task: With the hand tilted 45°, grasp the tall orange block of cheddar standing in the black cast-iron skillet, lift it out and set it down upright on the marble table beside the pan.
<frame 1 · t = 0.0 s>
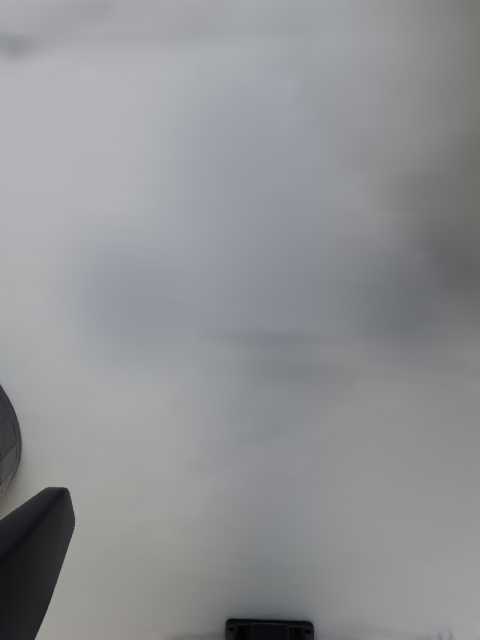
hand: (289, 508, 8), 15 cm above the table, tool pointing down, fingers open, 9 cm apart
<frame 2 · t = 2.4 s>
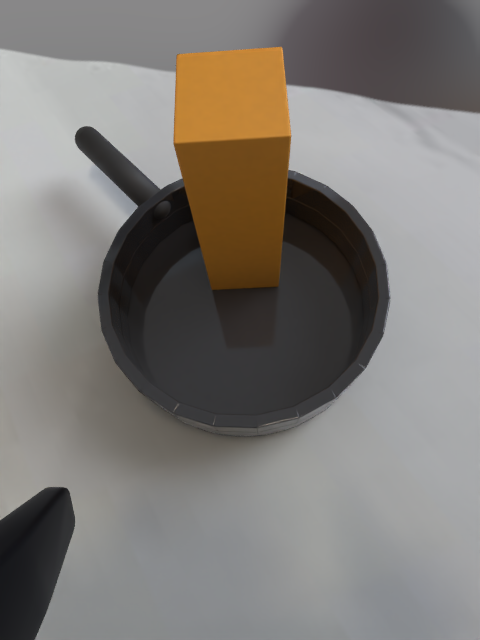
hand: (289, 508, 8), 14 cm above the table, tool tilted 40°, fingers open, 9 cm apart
pan: (244, 308, 25), on the table
cheese: (243, 256, 25), resting on pan
pan handle: (135, 202, 28), resting on pan
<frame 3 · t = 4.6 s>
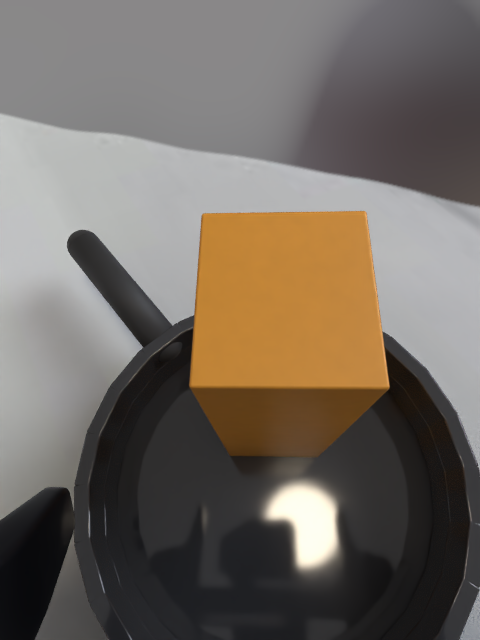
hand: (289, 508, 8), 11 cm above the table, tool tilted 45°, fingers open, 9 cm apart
pan: (271, 482, 19), on the table
cheese: (272, 407, 20), resting on pan
pan handle: (138, 318, 22), resting on pan
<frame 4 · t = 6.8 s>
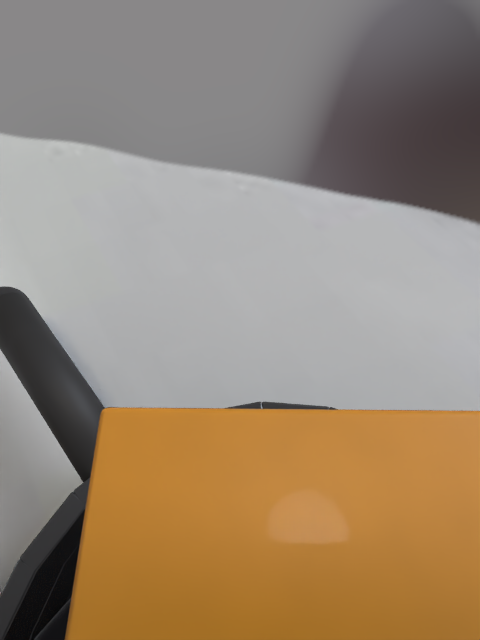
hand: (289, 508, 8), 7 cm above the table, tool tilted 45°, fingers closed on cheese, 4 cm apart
cheese: (278, 555, 13), point 1 cm above the table, touching gripper, pan
pan handle: (90, 404, 16), resting on pan
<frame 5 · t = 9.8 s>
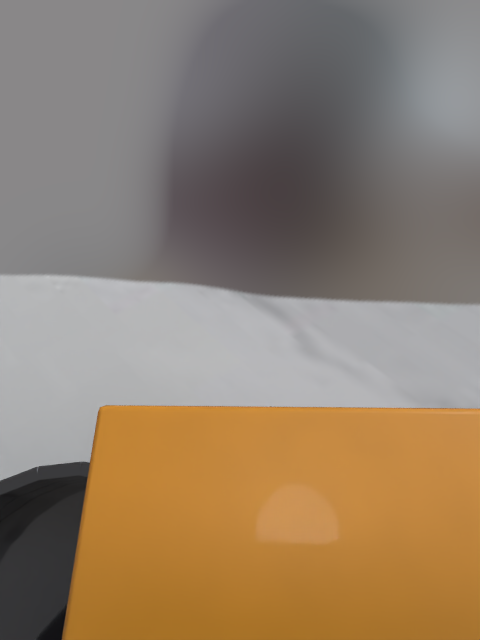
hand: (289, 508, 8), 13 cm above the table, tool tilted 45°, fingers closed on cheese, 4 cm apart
cheese: (277, 554, 13), point 7 cm above the table, touching gripper
when the fingers open (6 cm above the table, at t = 12.9 s): cheese stays where it is, on the table.
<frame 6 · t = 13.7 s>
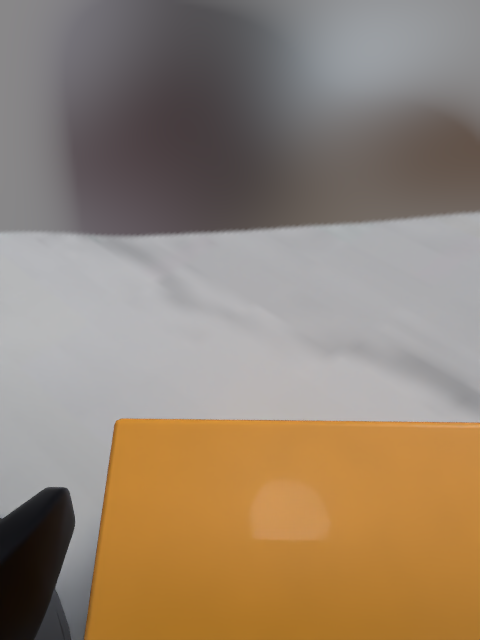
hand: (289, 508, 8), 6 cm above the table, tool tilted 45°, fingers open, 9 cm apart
cheese: (278, 555, 14), on the table
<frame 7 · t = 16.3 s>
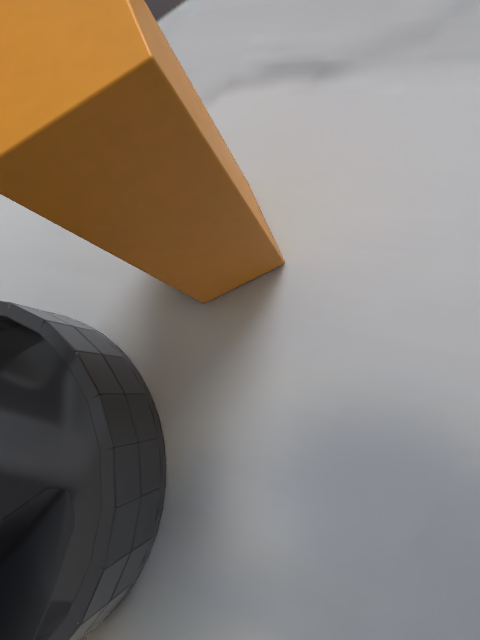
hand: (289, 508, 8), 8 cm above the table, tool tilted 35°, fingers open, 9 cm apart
pan: (24, 469, 20), on the table
cheese: (225, 241, 19), on the table
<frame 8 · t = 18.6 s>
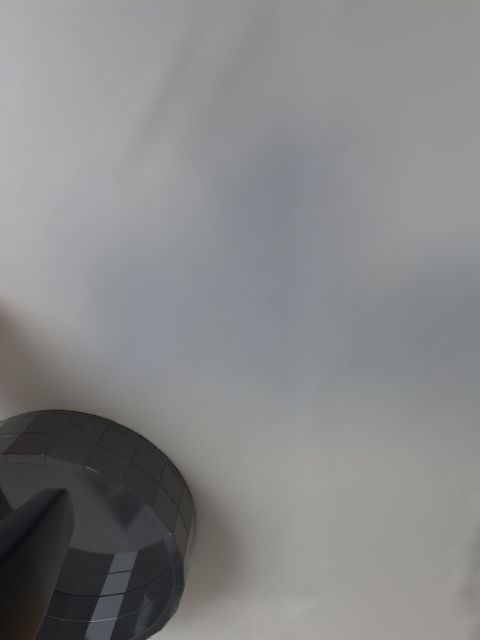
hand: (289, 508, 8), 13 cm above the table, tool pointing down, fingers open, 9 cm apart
pan: (77, 511, 26), on the table
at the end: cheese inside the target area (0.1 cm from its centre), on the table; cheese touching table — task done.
